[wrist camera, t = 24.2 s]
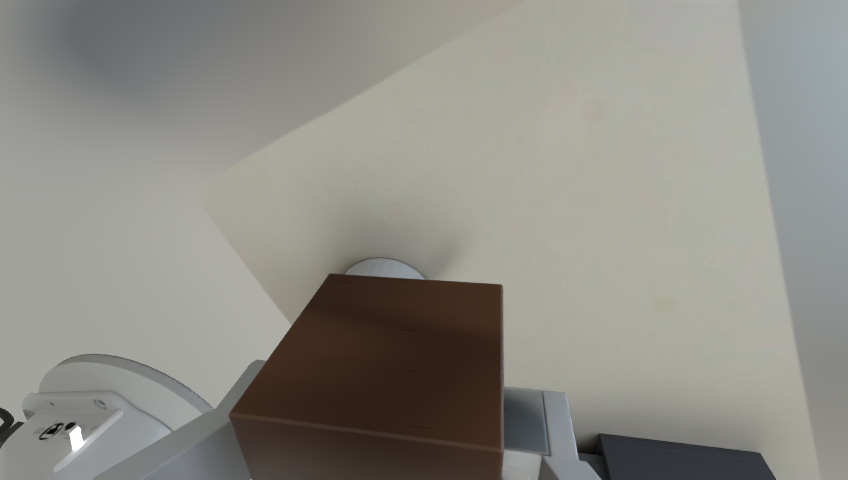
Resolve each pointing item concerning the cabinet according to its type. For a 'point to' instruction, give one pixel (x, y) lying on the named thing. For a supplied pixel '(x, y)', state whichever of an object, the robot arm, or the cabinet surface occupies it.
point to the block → (381, 385)
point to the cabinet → (676, 461)
